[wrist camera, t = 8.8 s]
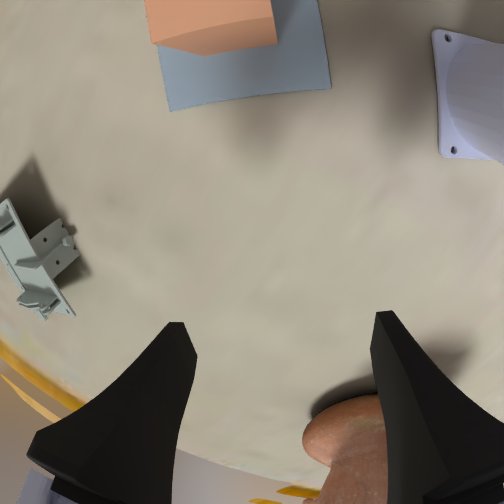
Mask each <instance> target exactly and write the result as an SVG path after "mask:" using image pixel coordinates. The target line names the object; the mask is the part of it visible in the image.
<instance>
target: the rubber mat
mask: <svg viewBox="0 0 504 504" xmlns="http://www.w3.org/2000/svg"><path fill="white" fill-rule="evenodd" d="M270 2H271V7H272V12H273V17H274V23H275V29H276V35H277V41H278V44H277V45H269V46H261V47H254V48H247V49H241V50H235V51H230V52H224V53H219V54H214V55H210V56H205V57H203V56H200V55H196V54H193V53H189V52H185V51H181V50H177V49H173V48H169V47H165V46H161V45H157V47H158V53H159V58H160V64H161V69H162V75H163V80H164V85H165V90H166V95H167V100H168V105H169V110H170V112H172V111H176V110H180V109H184V108H189V107H194V106H198V105H203V104H208V103H213V102H219V101H225V100H230V99H237V98H243V97H250V96H257V95H265V94H273V93H282V92H293V91H305V90H320V89H331V83H330V75H329V68H328V61H327V54H326V47H325V41H324V35H323V29H322V24H321V18H320V13H319V8H318V3H317V0H270Z"/></svg>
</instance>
